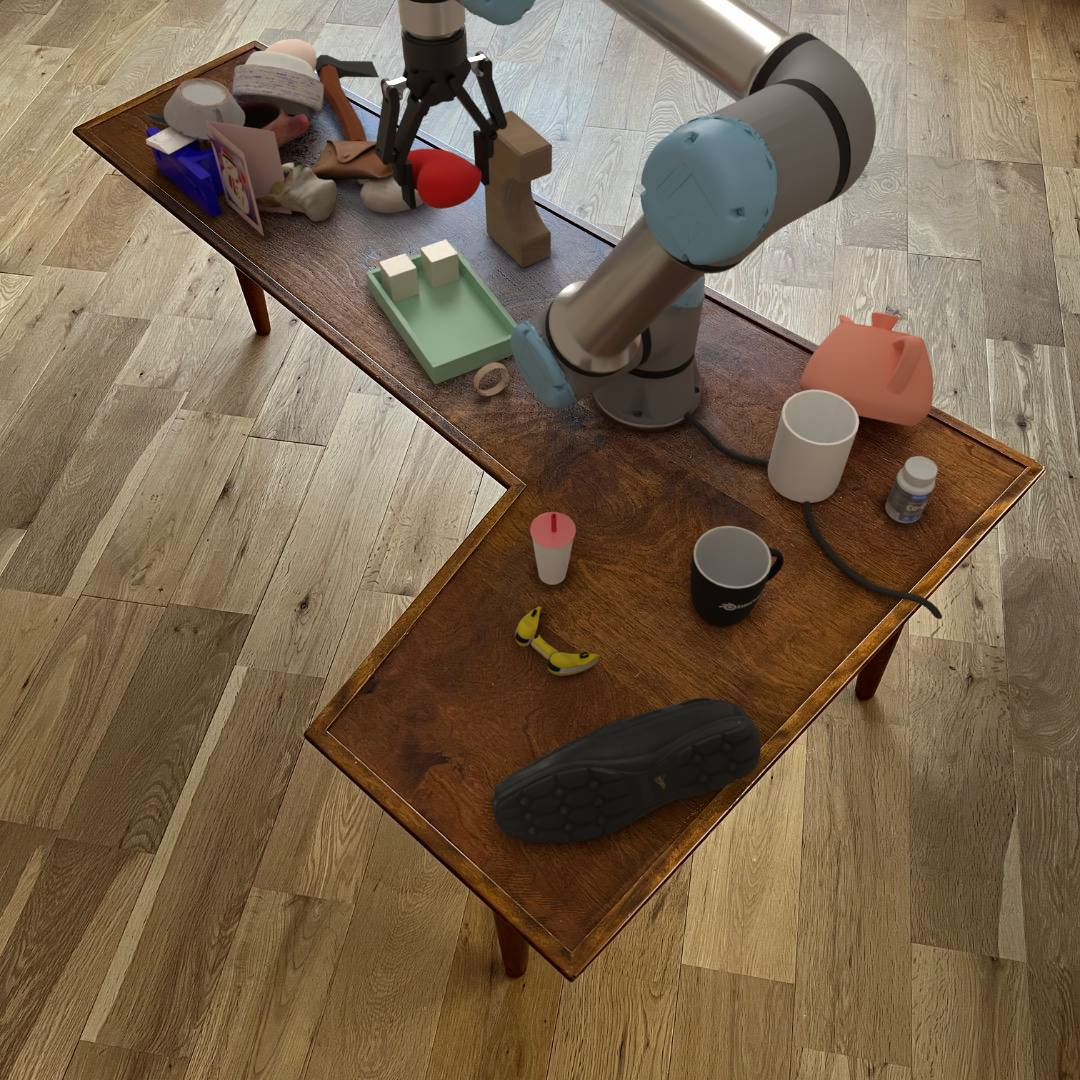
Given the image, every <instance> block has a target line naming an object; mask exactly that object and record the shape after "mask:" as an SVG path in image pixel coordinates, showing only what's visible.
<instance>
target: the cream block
mask: <svg viewBox="0 0 1080 1080" xmlns="http://www.w3.org/2000/svg"><path fill="white" fill-rule="evenodd" d="M450 243H451V242H449V241H448V240H447V239H442V240H440V241H437V242H434V243H432V244H431V243H430V244H427V245H424V246H422V247H420V248H419V250H420V251H419V252H420V253H421V261H422V270H423V275H424V276H425V278H426V279H427V280H428V282H429V283H430V284H431V286H432V287H433V288H434V289H435V288H438V287H441V286H444V285H447V284H450V283H452V282H455V281H458V280H460V278H459V264H458V253H457V252H456V251H455V250H454V248H453V247H452V246H451V245H450Z"/></svg>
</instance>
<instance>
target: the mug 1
mask: <svg viewBox="0 0 1080 1080" xmlns="http://www.w3.org/2000/svg"><path fill="white" fill-rule="evenodd" d="M691 555H692V556H691V562H690V573H689V574H690V575H689V588H690V590H689V591H690V598H691V603H692V607H693V609H694V611H695V612H696V614H697V616H699V618H700V619H701V620H702V621H704V622H706V623H707V624H709V625H711V626H714V627H719V628H728V627H732V626H735V625H737V624H740V623H741V622H743V621H744V620H745V619H746V618H747V617H748V616H749V615H750V613H751V612H752V611H753V610H754V608H755V606H756V604H757V603H758V601H759V600H760V597H761V596H762V594H763V591H764V588H765V586H766V584H767V583H769V581H771V580H772V579H773V578H774V577H776V575H778V573H779V572H780V571H781V570H782V568H783V566H784V563H785V558H784V555H783V553H782V552H781V551H780V550H779V549H777V548H773V547H768V545H767V544H766V542H765V541H764V540H763V539H762V538H761V537H760V536H759V535H757V534H756V533H754V532H753V531H751V530H748V529H747V528H743V527H740V526H733V525H723V526H717V527H714V528H711V529H709V530H707V531H706V532H704V533H702V535H701V536H700V537H699V538H698V539H697V541H696V542H695V544H694V547H693V550H692V554H691ZM772 558H775V561H774V562H773V564H772V560H773V559H772Z"/></svg>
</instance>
